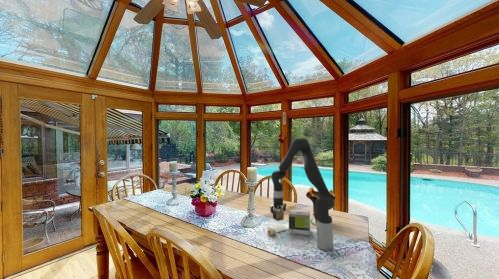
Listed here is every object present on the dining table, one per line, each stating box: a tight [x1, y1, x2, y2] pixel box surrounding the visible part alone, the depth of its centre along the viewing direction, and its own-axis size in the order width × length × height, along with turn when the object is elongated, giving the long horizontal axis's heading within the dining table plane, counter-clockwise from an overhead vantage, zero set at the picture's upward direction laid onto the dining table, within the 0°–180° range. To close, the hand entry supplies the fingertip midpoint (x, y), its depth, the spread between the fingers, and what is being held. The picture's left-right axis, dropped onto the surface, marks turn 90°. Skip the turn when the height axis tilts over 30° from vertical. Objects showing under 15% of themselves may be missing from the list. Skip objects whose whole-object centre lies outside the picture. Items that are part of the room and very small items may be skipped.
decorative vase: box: [305, 186, 336, 227], centre depth 187 cm, size 21×23×28 cm
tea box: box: [288, 209, 311, 236], centre depth 170 cm, size 15×10×15 cm
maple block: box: [266, 228, 276, 237], centre depth 166 cm, size 4×4×4 cm
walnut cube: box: [272, 209, 285, 222], centre depth 177 cm, size 6×6×6 cm
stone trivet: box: [267, 222, 289, 234], centre depth 177 cm, size 12×12×1 cm
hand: (278, 217), depth 177 cm, fingers closed on walnut cube, 6 cm apart
